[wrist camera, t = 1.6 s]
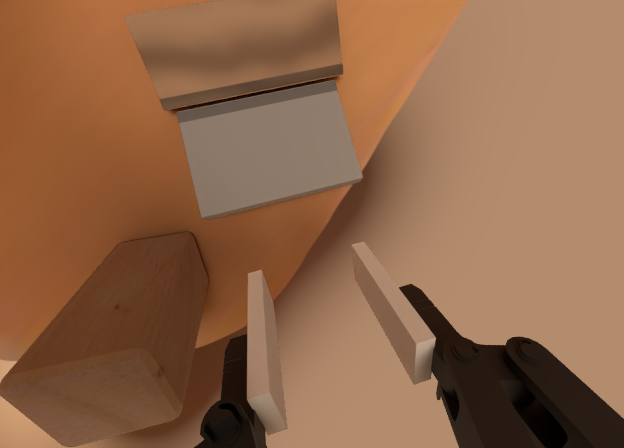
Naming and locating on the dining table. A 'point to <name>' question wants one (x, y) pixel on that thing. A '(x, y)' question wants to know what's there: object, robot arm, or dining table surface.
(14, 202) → the dining table surface
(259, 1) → the board
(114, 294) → the wooden block
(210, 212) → the plank
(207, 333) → the dining table surface
